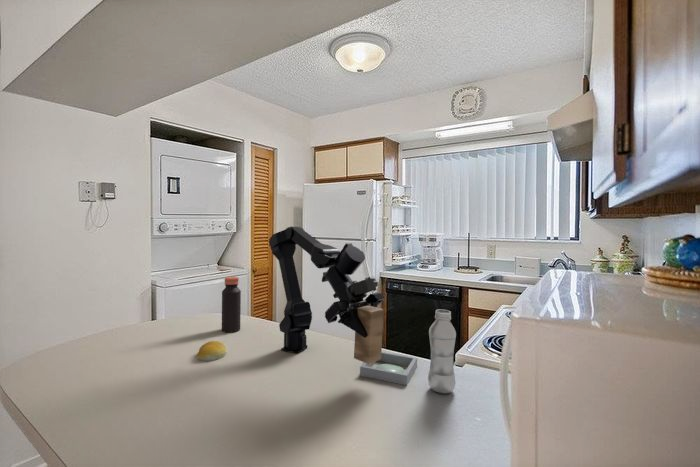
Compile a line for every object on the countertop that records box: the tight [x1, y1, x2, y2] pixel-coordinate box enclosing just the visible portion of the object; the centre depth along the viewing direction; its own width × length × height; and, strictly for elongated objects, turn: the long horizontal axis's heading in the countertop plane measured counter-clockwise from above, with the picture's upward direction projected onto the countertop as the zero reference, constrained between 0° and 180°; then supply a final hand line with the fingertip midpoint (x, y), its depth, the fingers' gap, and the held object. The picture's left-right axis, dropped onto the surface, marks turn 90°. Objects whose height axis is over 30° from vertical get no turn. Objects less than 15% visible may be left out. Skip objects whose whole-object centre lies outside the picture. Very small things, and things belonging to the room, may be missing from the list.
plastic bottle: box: [427, 309, 457, 394], centre depth 85 cm, size 6×7×20 cm
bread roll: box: [196, 340, 228, 362], centre depth 104 cm, size 8×9×4 cm
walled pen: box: [359, 351, 418, 386], centre depth 96 cm, size 13×13×2 cm
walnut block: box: [353, 305, 385, 364], centre depth 87 cm, size 5×5×13 cm
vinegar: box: [221, 276, 242, 334], centre depth 128 cm, size 7×7×20 cm
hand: (373, 334), depth 86 cm, fingers closed on walnut block, 5 cm apart
